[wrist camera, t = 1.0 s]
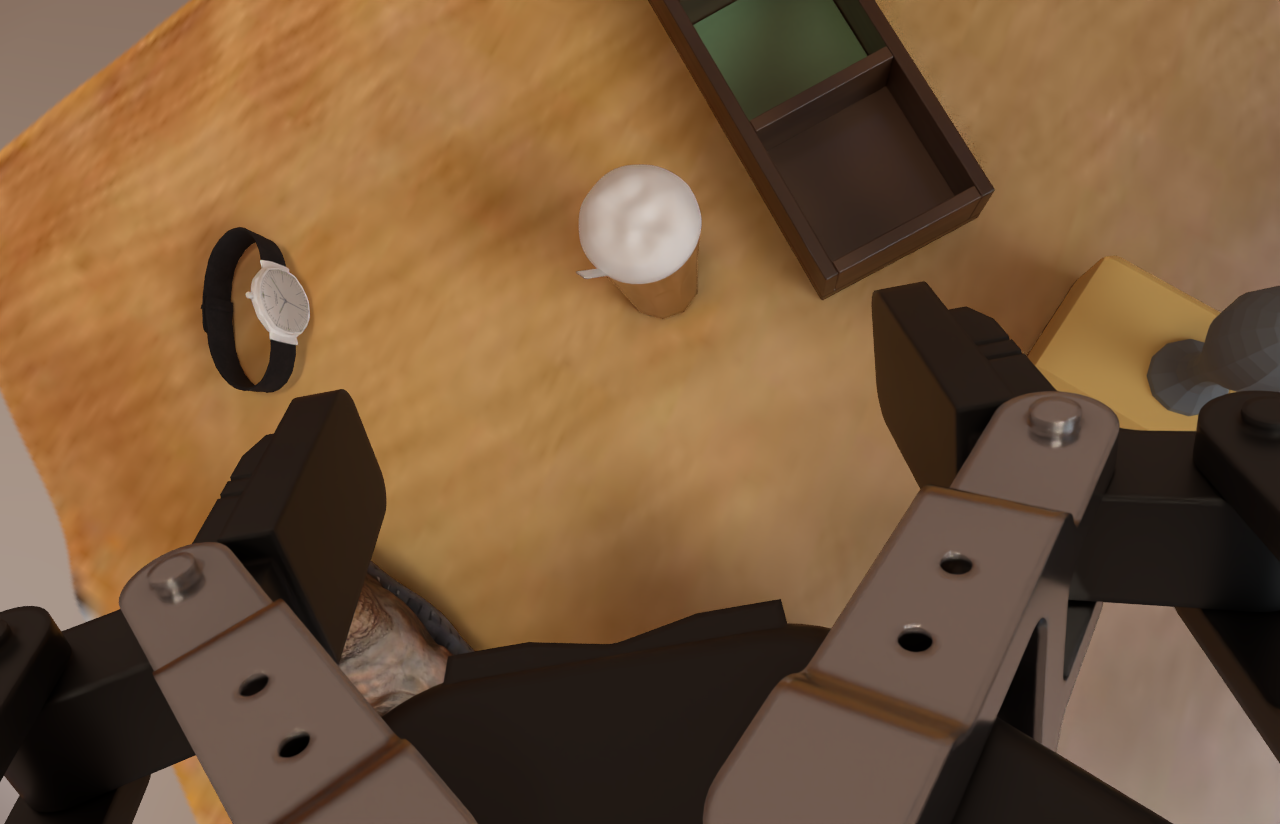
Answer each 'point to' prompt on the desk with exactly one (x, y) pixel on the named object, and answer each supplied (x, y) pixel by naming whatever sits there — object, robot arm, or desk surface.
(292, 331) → the watch
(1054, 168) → the desk surface
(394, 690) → the brown animal figure
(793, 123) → the tray
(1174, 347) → the rubber stamp
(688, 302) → the milkshake
